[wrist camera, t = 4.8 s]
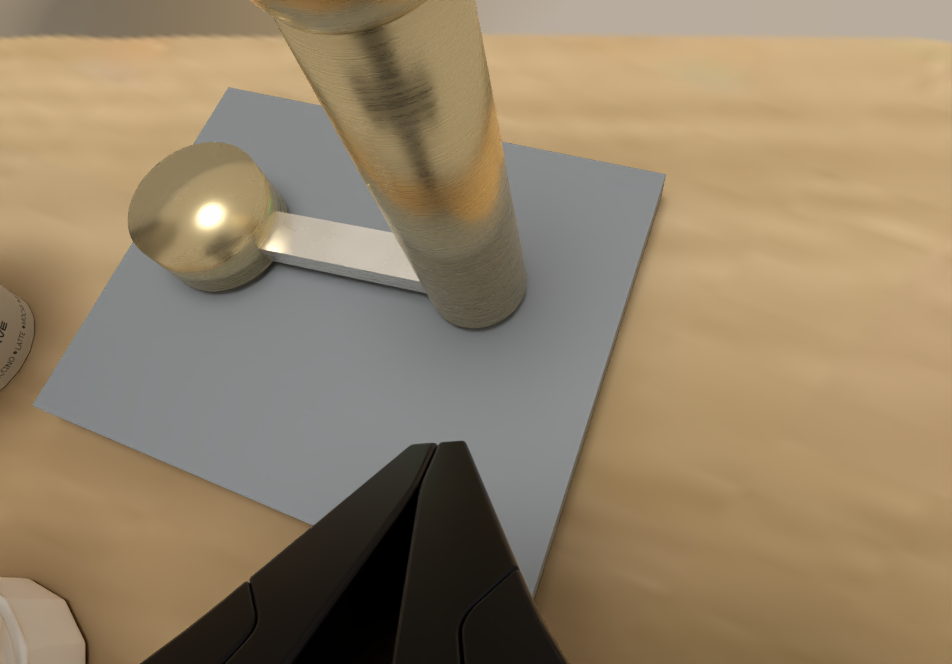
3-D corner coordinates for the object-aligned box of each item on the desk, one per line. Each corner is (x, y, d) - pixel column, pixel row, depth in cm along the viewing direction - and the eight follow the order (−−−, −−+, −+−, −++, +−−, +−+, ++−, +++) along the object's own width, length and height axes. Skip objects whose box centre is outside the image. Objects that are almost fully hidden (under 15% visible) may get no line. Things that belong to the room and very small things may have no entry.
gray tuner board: (661, 196, 20) (666, 172, 19) (529, 613, 16) (525, 616, 15) (244, 109, 25) (227, 85, 23) (61, 414, 21) (29, 404, 19)
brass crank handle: (146, 277, 20) (-507, -166, 8) (202, 171, 22) (-284, -344, 10) (515, 363, 17) (346, -166, 5) (553, 231, 18) (496, -439, 6)
